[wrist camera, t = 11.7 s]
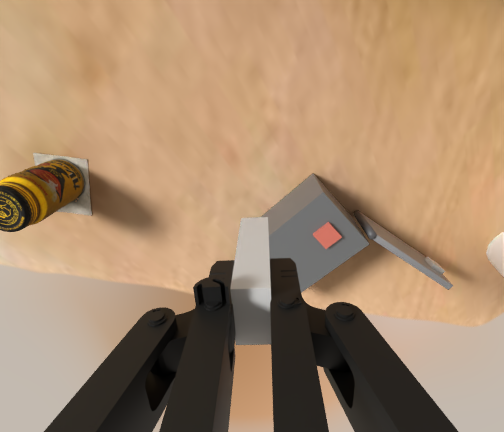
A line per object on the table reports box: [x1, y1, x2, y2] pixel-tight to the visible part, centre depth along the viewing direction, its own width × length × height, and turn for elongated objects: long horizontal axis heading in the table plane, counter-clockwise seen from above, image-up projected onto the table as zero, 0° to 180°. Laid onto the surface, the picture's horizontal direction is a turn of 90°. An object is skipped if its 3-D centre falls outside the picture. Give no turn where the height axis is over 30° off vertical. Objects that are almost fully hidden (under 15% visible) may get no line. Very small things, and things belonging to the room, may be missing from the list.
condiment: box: [0, 153, 92, 232], centre depth 40 cm, size 7×8×12 cm
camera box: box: [261, 174, 369, 292], centre depth 43 cm, size 17×9×9 cm, turn 133°
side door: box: [354, 210, 453, 290], centre depth 43 cm, size 14×2×7 cm, turn 56°
